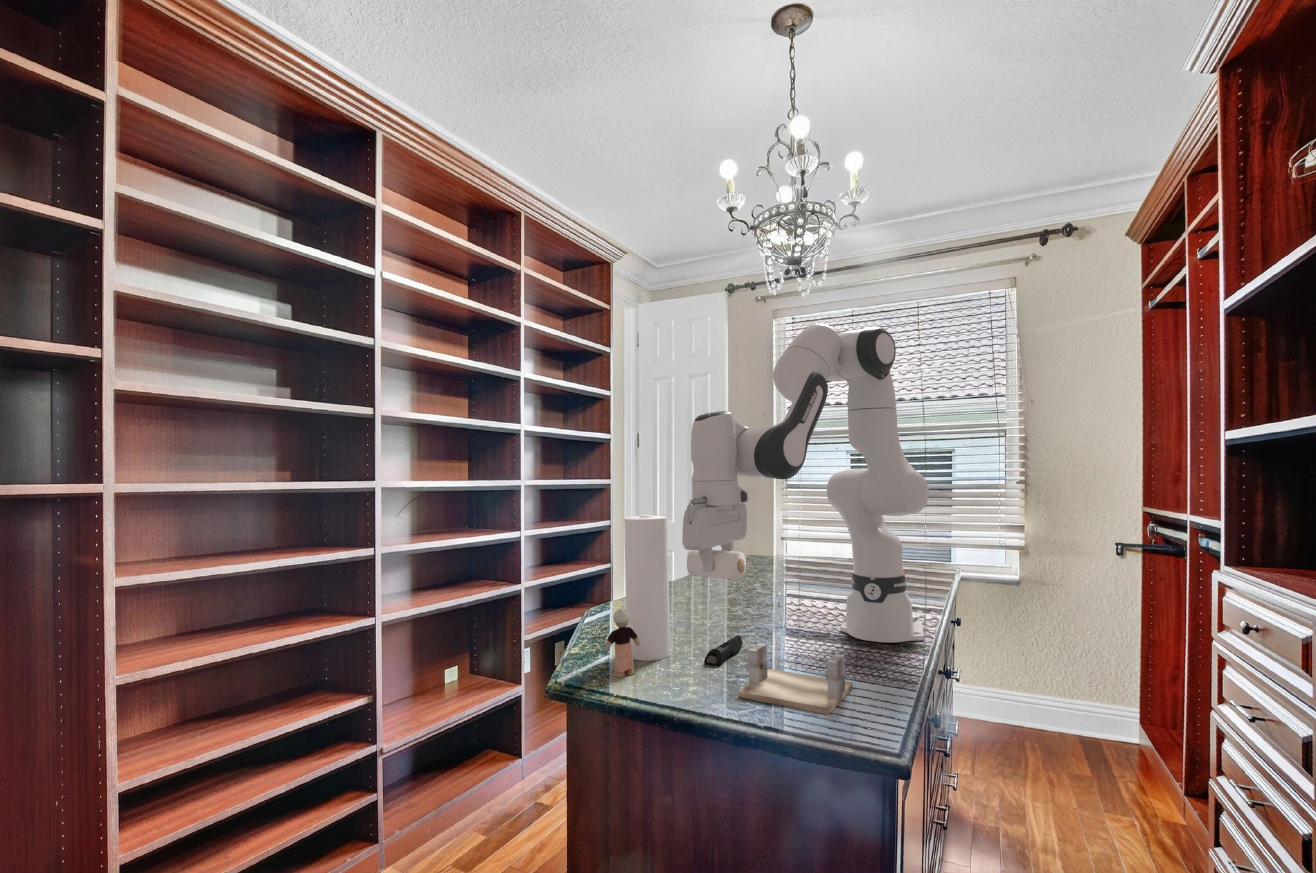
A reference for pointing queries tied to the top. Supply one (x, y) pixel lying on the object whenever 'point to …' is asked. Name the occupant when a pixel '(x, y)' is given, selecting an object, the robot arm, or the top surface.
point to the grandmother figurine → (622, 644)
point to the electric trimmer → (723, 651)
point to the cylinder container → (648, 585)
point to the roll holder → (795, 684)
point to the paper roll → (718, 564)
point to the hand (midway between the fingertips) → (717, 568)
